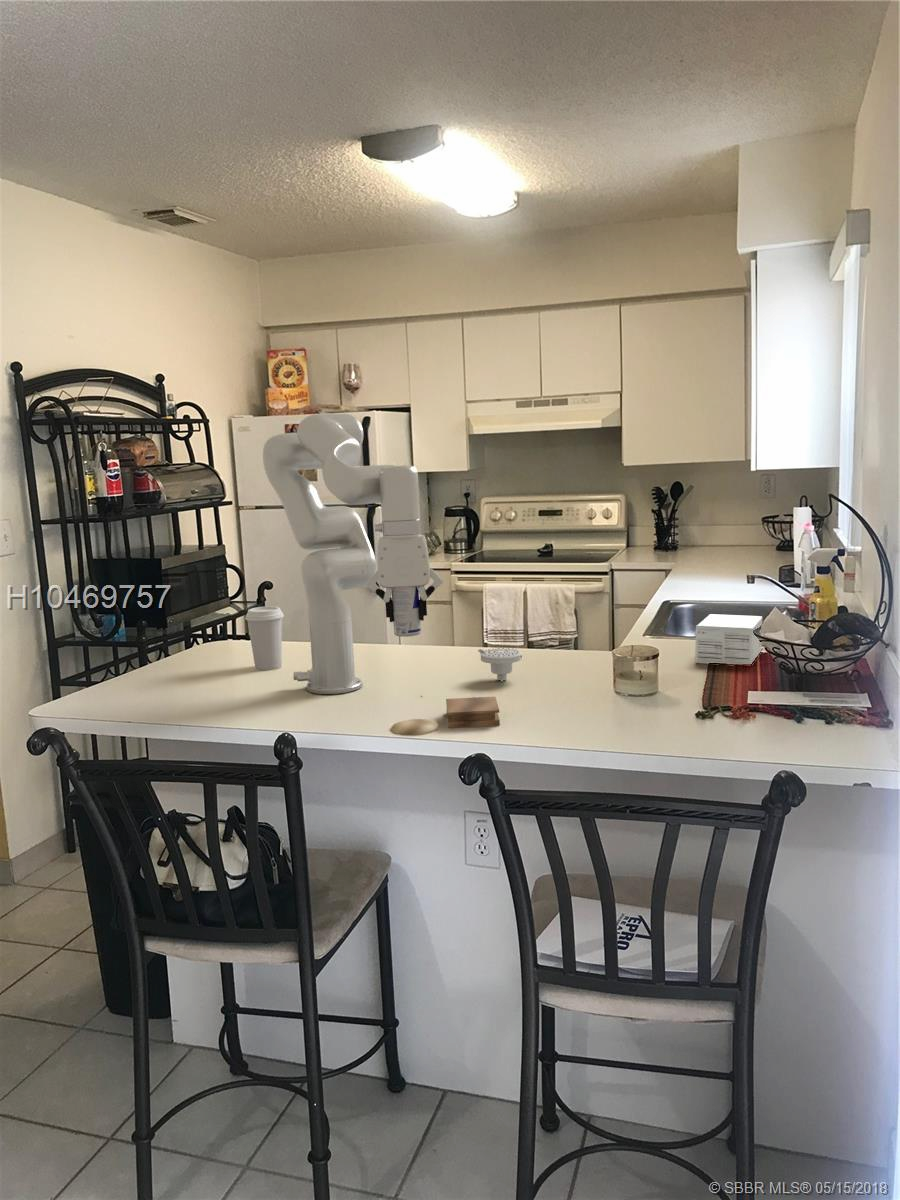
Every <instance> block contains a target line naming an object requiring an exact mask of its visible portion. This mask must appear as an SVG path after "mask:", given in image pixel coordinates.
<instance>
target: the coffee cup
mask: <svg viewBox="0 0 900 1200" xmlns="http://www.w3.org/2000/svg"><path fill="white" fill-rule="evenodd" d="M284 617H285V615H284V613H283V611H282V609H281V608H280V607H279V606H274V605H273V606H269V605H268V606H257V607H252V608H249V609H248V610H247V613H246V615H245V617H244V618H245V619H244V620H245V621H247V625H248V626H247V627H248V631H249V639H250V644H251V651H252V655H253V656H252V657H253V662H254V668H255V670H256V669H257V671H272V670H273V669H274V670H277V668H278V669H280V668H282V653H283V652H282V650H283V649H282V648H283V647H282V645H283V641H282V639H283V637H282V636H283V634H282V633H283V618H284Z"/></svg>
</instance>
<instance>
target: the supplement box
mask: <svg viewBox="0 0 900 1200" xmlns="http://www.w3.org/2000/svg"><path fill="white" fill-rule="evenodd" d="M761 625H762V626H763V616H762V615H761V616H760V615H740V614H738V615H737V614H715V613H714V614H713V613H710V614H708V615H707V616H706V617H705V618H704V619H703V620H702V621H700V622H699V623H698V624H697V625H695V652H694V653H695V655H694V656H695V657H694V658H695V661H694V662H695V663H696V664H705V665H710V664H709V663H727V664H752V662H753V661H754V660H755V658H756V657H757V656H758V654H759V653H760V652H761V651H762V649H763V648H762V646H763V644H762V643H763V642H762V643H761V642H760V641H759V639H758V638H757V637H756V636H755V635H754V633H753V630H755V629H757V628H759V627H760V626H761ZM761 653H762V652H761ZM761 653H760V654H761ZM758 657H759V656H758ZM755 661H756V660H755ZM752 665H753V664H752Z"/></svg>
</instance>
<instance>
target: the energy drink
mask: <svg viewBox="0 0 900 1200" xmlns="http://www.w3.org/2000/svg"><path fill="white" fill-rule="evenodd" d="M391 598H392V604H393V622H392V623H393V634H394V635H395V636H396V637H401V638H402V637H405V638H406V637H414V636H415V637H416V636H418V635H421V633H422V627H421V620H420V612H419V600H420V594H419V591H418V589H417V587H399V588H393V589H392V593H391Z"/></svg>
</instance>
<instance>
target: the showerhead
mask: <svg viewBox="0 0 900 1200" xmlns="http://www.w3.org/2000/svg"><path fill="white" fill-rule="evenodd" d="M477 652H478V653H480V662H483V663H486V664H490V672H491V673H493V675H494V674H495V675H496V678H497V679H496V680H506V681H507V680H508V678H507V675H509V674H511V673H512V672H513V663H517V662H520V661H521V660H522V657H523V652H522V651H520V650H518V649H514V648H510V647H508V648H505V647H503V648H499V647H497V648H492V649H488V650H486V649H485V650H484V649H482V648H479V649H478V651H477Z"/></svg>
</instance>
